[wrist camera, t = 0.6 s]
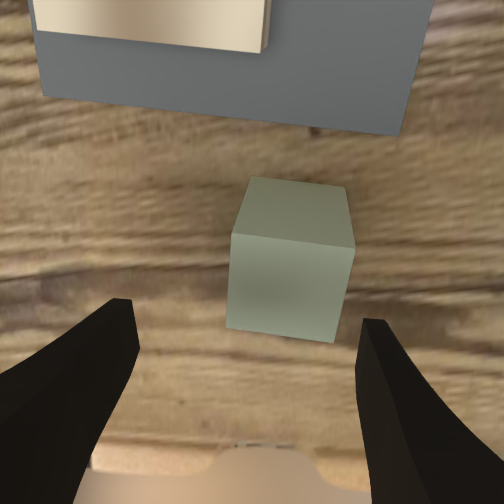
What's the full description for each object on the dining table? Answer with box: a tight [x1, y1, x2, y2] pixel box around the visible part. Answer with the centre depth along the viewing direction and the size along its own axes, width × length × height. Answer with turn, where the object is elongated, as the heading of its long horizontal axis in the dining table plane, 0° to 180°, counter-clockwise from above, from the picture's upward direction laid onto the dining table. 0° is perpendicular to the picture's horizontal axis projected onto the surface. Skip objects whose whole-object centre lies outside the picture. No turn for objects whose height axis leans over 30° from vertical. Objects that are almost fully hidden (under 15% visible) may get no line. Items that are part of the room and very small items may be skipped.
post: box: [225, 176, 356, 343], centre depth 19 cm, size 4×4×6 cm
